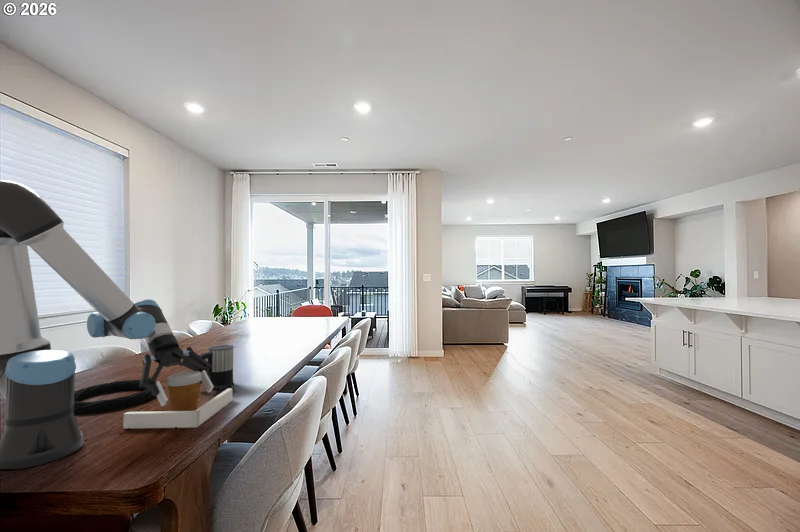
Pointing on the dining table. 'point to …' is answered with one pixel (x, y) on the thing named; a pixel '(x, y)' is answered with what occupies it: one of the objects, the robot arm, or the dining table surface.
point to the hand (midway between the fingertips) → (189, 396)
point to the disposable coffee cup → (184, 390)
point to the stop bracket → (177, 415)
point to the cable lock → (112, 403)
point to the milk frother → (220, 366)
